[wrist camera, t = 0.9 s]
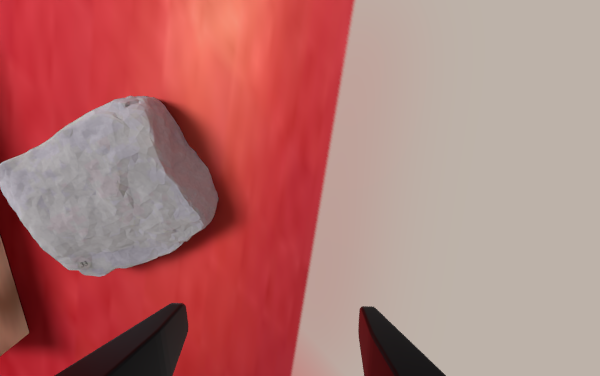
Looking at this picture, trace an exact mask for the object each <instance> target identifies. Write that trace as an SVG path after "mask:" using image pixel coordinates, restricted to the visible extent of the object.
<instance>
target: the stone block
mask: <svg viewBox="0 0 600 376" xmlns="http://www.w3.org/2000/svg"><path fill="white" fill-rule="evenodd" d="M0 188H1V191H2V193H3V195H4V196H5V197H6V199H7V201H8V203H9V204H10V206H11V207H12V208H13V210H14V211H15V212H16V213H17V215H18V217H19V219H20V220H21V222H22V223H23V225H24V226H25V227H26V229H27V230H28V231H29V232H30V234H31V235H32V237H33V239H35V240H36V241H37V243H38V244H39V245H40V247H41V248H42V249H43V250H44V251H46V252H47V253H48V254H49V255H51V256H52V257H53V258H54V259H56V260H57V261H58V262H60V263H61V264H62V265H63V266H64V267H66V268H67V269H68V270H79V271H80V272H81V273H82V274H84V275H91V276H98V277H100V276H104V275H106V274H108V273H109V272H111V271H113V270H114V269H116V268H128V267H132V266H135V265H139V264H143V263H146V262H148V261H151V260H153V259H156V258H157V257H159V256H163V255H166V254H169V253H171V252H173V251H175V250H176V249H177V248H178V247H179V246H181V245H182V244H183V243H184V242H185V241H188V240H189V239H190V238H191V237H192V236H193V235H194V234H196V233H198V232H199V231H201V230H203V229H204V228H206V226H207V225H208V224H209V223H210V222H211V221H212V219H213V218H214V214H215V211H216V208H217V203H218V199H219V198H218V195H217V191H216V189H215V187H214V184H213V181H212V177H211V174H210V172H209V169H208V167H207V166H206V165H205V164H204V163H203V162H202V160H201V159H200V158H199V157H198V155H197V153H196V151H194V150H193V149H192V148H191V147H190V146H189V145H188V143H187V141H186V140H185V138H184V136H183V133H182V131H181V130H180V127H179V126H178V124H177V123H176V121H175V120H174V118H173V117H172V116H171V114H170V113H169V111H168V110H167V109H166V106H165V105H164V104H162V102H161V101H159V100H158V99H156V98H154V97H148V96H137V97H133V96H128V97H126V98H121V99H115V100H113V101H111V102H109V103H107V104H105V105H103V106H101V107H98V108H96V109H94V110H92V111H90V112H88V113H86V114H84V115H83V116H81V117H80V118H78V119H77V120H75V121H74V122H72V123H70V124H68V125H67V126H65V127H64V128H63V129H61V130H60V131H58V132H57V133H56V134H55V135H54V136H53V137H51V138H50V139H49V140H47V141H46V142H44V143H42V144H41V145H39V146H37V147H35V148H33V149H30V150H29V151H27V152H26V153H24V154H21V155H19V156H16V157H14V158H11V159H8V160H6V161H4V162H2V163H1V164H0Z"/></svg>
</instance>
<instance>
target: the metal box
mask: <svg viewBox="0 0 600 376" xmlns="http://www.w3.org/2000/svg"><path fill="white" fill-rule="evenodd" d="M28 334H29V330H28V326H27V323H26V320H25V316H24V313H23V310H22V306H21V303H20V300H19V296H18V293H17V290H16V286H15V283H14V280H13V276H12V273H11V270H10V266H9V263H8V260H7V256H6V253H5V250H4V246H3V243H2V240H1V236H0V356H1V355H2V354H4V353H5V352H6V351H7V350H9V349H10V348H11V347H12V346H14V345H15V344H16V343H18V342H19V341H20V340H21V339H23V338H24V337H25V336H26V335H28Z"/></svg>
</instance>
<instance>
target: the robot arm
mask: <svg viewBox="0 0 600 376" xmlns="http://www.w3.org/2000/svg"><path fill="white" fill-rule="evenodd" d="M187 332H188V320H187V312H186V306H185V305H184V304H183V303H171V304H169V305H167V306H166V307H164V308H163V309H161V310H159V311H158V312H156V313H155V314H153V315H151V316H150V317H148V318H147V319H145V320H143V321H142V322H140V323H139V324H137V325H135V326H134V327H132V328H130V329H129V330H127V331H126V332H124V333H122V334H121V335H119V336H118V337H116V338H114V339H113V340H111V341H110V342H108V343H106V344H105V345H103V346H102V347H100V348H98V349H97V350H95V351H94V352H92V353H90V354H89V355H87V356H85V357H84V358H82V359H81V360H79V361H77V362H76V363H74V364H73V365H71V366H69V367H68V368H66V369H65V370H63V371H61V372H60V373H58V374H57V375H55V376H172V375H173V372H174V370H175V367H176V364H177V361H178V358H179V356H180V353H181V350H182V347H183V344H184V341H185V339H186V336H187ZM359 341H360V349H361V355H362V362H363V369H364V376H446V375H445V374H444V373H443V372H441V370H439V369H438V368H437V367H436V366H435V365H434V364H433V363H432V362H431V361H430V360H429V359H428V358H427V357H426V356H425V355H424V354H423V353H422V352H421V351H420V350H418V349H417V348H416V347H415V346H414V345H413V344H412V343H411V342H410V341H409V340H408V339H407V338H406V337H405V336H404V335H403V334H402V333H401V332H400V331H398V329H397V328H396V327H395V326H393V325H392V324H391V323H390V322H389V321H388V320H387V319H386V318H385V317H384V316H383V315H382V314H381V313H380V312H379V311H378V310H377V309H376V308H374V307H364V306H363V307H361V308H360V313H359Z"/></svg>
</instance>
